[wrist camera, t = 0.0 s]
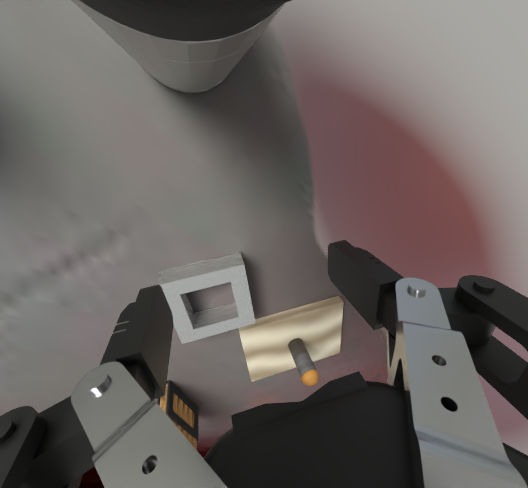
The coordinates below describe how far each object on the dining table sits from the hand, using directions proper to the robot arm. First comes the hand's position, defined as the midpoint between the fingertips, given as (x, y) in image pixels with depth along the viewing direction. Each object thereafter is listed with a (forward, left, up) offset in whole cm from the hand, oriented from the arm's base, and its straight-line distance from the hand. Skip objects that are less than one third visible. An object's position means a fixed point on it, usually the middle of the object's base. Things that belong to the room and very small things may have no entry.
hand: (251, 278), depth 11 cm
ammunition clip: (+35, -14, -17) cm, 41 cm away
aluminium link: (+14, -4, -17) cm, 22 cm away
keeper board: (+28, +7, -17) cm, 33 cm away
